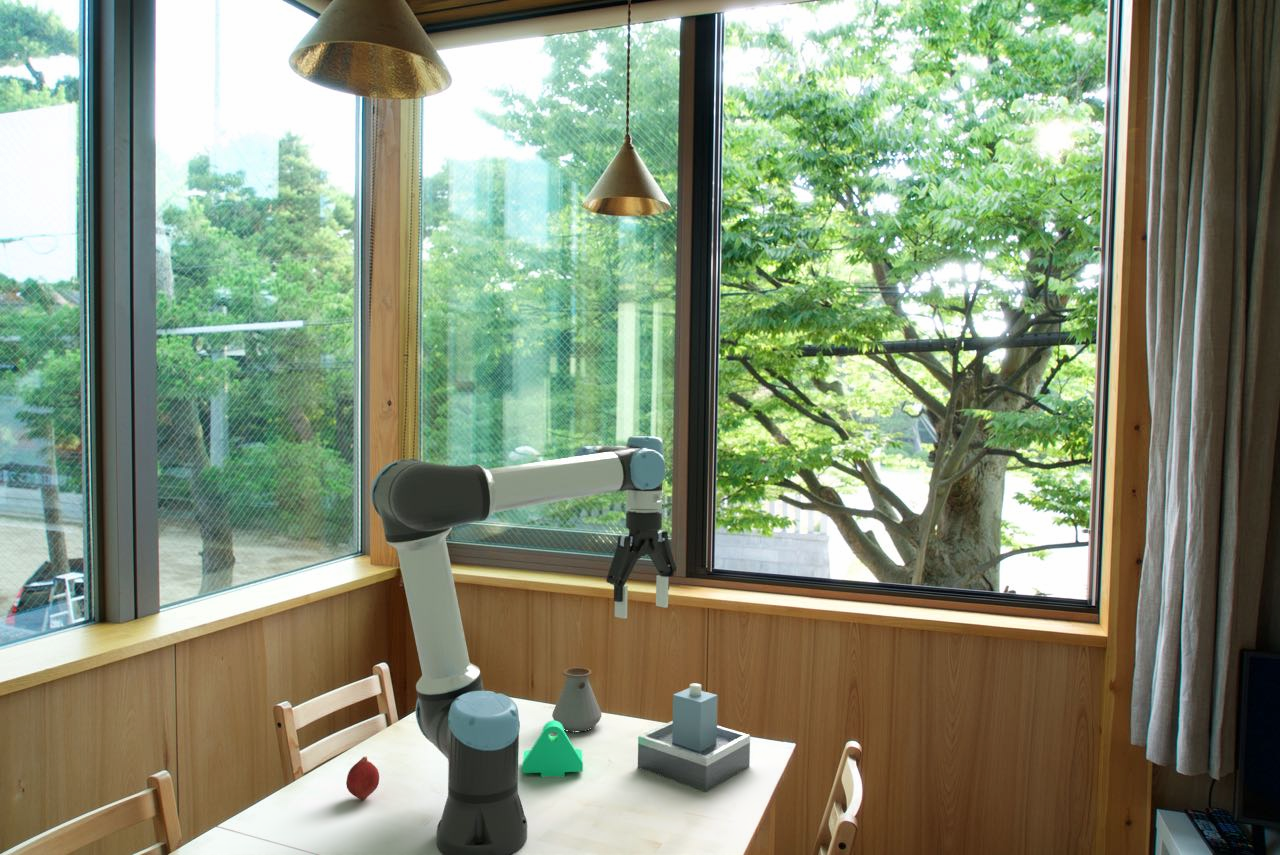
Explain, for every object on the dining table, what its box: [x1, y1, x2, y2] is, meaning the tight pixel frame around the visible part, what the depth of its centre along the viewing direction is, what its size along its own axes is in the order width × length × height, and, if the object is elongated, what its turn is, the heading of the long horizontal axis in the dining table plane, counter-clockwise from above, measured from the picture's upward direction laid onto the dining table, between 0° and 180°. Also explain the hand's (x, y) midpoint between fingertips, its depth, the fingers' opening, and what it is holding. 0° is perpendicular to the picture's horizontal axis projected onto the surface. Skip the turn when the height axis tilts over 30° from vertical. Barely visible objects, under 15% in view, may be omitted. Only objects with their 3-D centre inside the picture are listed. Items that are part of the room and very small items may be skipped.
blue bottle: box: [672, 682, 719, 752], centre depth 171 cm, size 6×7×12 cm
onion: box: [345, 756, 380, 801], centre depth 154 cm, size 6×6×8 cm
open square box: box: [637, 720, 751, 793], centre depth 172 cm, size 16×17×6 cm
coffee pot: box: [552, 667, 602, 733], centre depth 188 cm, size 21×12×15 cm, turn 8°
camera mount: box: [521, 720, 584, 777], centre depth 169 cm, size 12×8×10 cm, turn 96°
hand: (641, 612), depth 173 cm, fingers open, 13 cm apart
